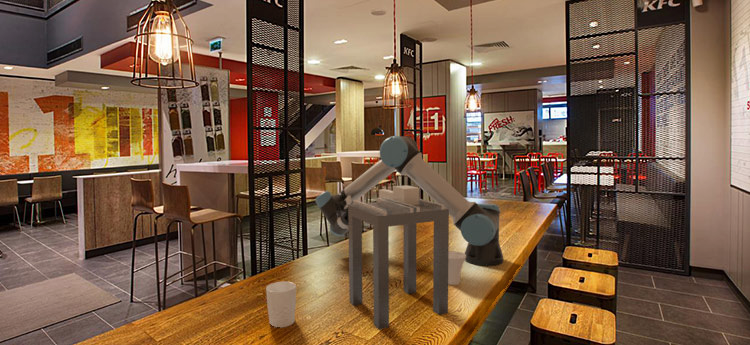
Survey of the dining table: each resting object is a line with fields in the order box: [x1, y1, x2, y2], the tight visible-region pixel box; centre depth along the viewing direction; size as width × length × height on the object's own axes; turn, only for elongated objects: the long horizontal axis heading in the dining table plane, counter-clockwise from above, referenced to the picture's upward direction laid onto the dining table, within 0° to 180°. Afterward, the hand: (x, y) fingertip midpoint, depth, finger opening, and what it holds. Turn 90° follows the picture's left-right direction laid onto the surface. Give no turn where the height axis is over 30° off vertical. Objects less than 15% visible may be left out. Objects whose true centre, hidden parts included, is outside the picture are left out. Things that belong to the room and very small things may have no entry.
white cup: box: [265, 281, 297, 328], centre depth 110 cm, size 8×8×10 cm
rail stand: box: [348, 197, 450, 330], centre depth 118 cm, size 20×22×31 cm
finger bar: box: [378, 184, 420, 205], centre depth 127 cm, size 19×5×5 cm, turn 26°
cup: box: [448, 250, 466, 286], centre depth 139 cm, size 9×9×10 cm
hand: (367, 197), depth 146 cm, fingers open, 13 cm apart
